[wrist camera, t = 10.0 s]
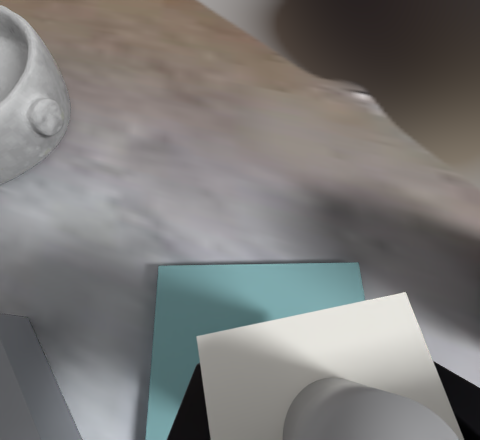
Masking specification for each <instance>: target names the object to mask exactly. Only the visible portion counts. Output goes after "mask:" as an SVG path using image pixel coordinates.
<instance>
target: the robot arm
mask: <svg viewBox="0 0 480 440" xmlns="http://www.w3.org/2000/svg"><path fill="white" fill-rule="evenodd" d="M433 362H434V361H433ZM434 365H435V367H436V370H437V372H438V375H439V377H440V380H441V382H442V385H443V388H444V390H445V393H446V395H447V398H448V400H449V403H450V405H451V408H452V410H453V413H454V415H455V418H456V420H457V423H458V425H459V428H460V430H461V433H462V435H463V438H464V440H480V388H479V387H477V386H475V385H474V384H472V383H470V382H468V381H467V380H465V379H463V378H462V377H460V376H458V375H456V374H455V373H453V372H451V371H449V370H448V369H446V368H444V367H443V366H441V365H439V364H437V363H436V362H434ZM167 440H211V438H210V431H209V424H208V416H207V409H206V402H205V395H204V388H203V380H202V373H201V366H200V363H198V364H197V365H196V367H195V369H194V372H193V374H192V377H191V379H190V382H189V384H188V387H187V389H186V392H185V394H184V397H183V399H182V402H181V404H180V407H179V409H178V412H177V415H176V417H175V420H174V422H173V425H172V427H171V430H170V432H169V435H168V437H167Z"/></svg>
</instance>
